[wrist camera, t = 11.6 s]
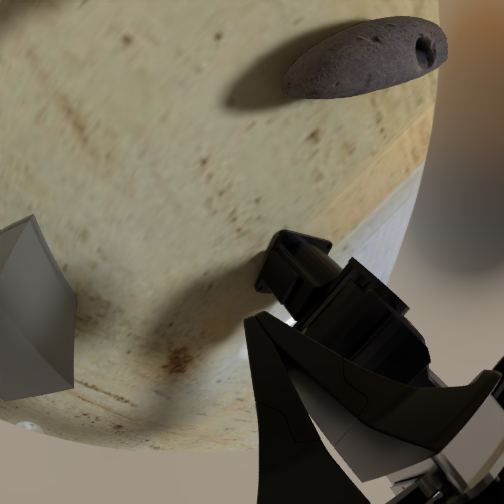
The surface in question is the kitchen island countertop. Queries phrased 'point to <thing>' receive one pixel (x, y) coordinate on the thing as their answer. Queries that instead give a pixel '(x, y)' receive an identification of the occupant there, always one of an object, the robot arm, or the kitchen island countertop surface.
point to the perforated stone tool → (367, 58)
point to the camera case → (33, 316)
